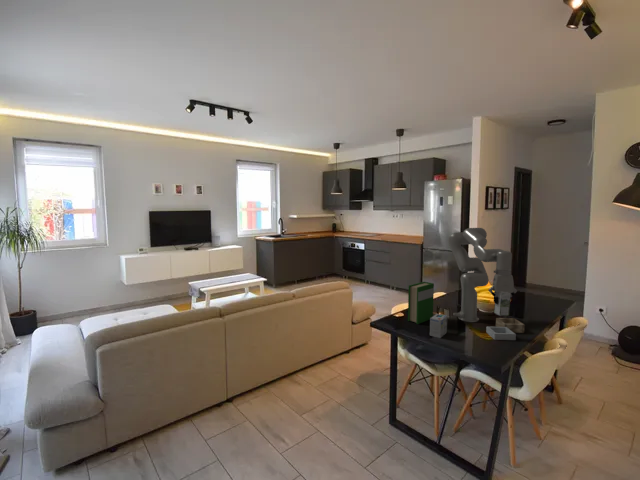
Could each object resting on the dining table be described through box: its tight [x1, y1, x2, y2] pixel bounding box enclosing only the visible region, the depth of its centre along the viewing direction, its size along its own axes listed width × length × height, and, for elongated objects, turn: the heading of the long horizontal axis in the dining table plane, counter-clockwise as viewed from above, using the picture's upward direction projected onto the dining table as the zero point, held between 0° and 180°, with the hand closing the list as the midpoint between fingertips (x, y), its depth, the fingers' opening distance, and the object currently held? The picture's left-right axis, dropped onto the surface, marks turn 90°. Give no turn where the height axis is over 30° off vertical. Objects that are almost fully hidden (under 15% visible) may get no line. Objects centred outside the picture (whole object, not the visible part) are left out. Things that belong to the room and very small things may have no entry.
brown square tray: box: [495, 317, 526, 334], centre depth 204 cm, size 11×11×5 cm
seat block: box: [485, 326, 517, 341], centre depth 193 cm, size 11×11×4 cm
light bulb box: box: [429, 313, 448, 339], centre depth 197 cm, size 11×7×11 cm, turn 141°
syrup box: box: [493, 291, 511, 317], centre depth 191 cm, size 6×6×14 cm
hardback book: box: [407, 281, 435, 325], centre depth 221 cm, size 18×7×24 cm, turn 130°
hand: (502, 303), depth 192 cm, fingers closed on syrup box, 6 cm apart
